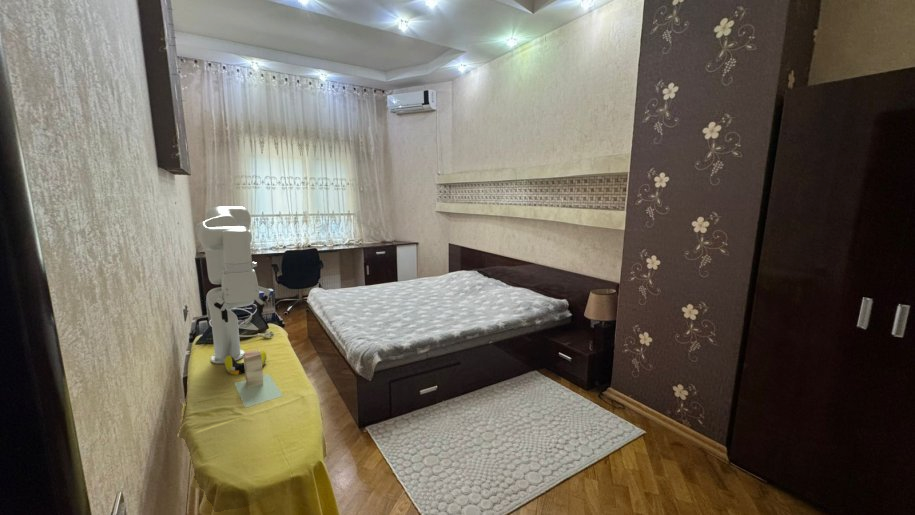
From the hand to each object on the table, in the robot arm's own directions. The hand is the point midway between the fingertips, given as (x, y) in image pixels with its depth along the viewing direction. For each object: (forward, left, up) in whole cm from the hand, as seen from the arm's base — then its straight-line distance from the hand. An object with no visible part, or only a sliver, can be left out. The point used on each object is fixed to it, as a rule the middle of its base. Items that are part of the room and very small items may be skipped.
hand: (243, 318), depth 122 cm
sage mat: (-8, +4, -31) cm, 32 cm away
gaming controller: (-29, +4, -32) cm, 43 cm away
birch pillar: (-13, +4, -31) cm, 34 cm away
